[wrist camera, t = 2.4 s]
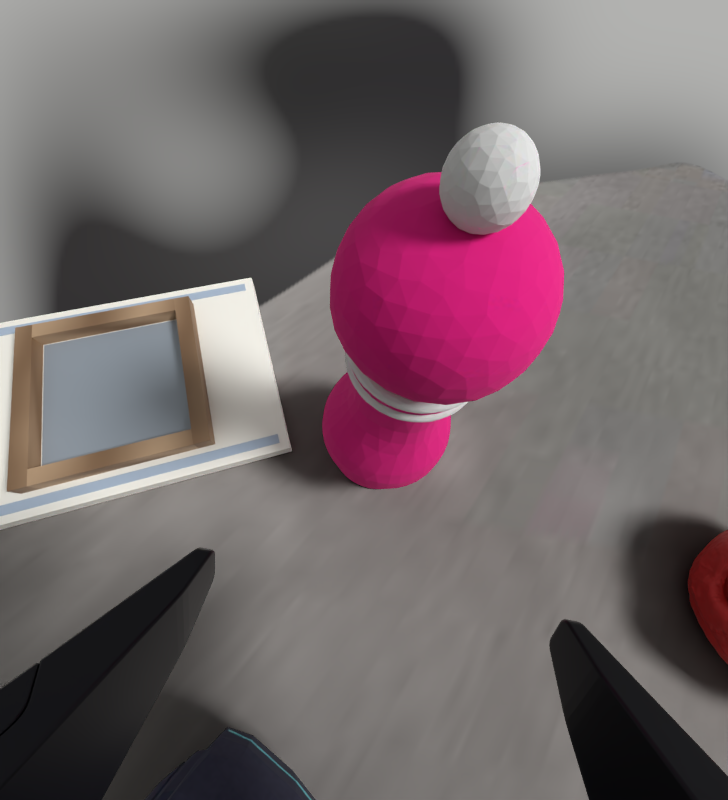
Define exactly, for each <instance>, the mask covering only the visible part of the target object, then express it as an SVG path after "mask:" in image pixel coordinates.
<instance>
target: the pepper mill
mask: <svg viewBox="0 0 728 800" xmlns="http://www.w3.org/2000/svg"><path fill="white" fill-rule="evenodd" d="M539 178H540V163H539V155H538V152H537V149H536V147H535V144H534V142H533V141H532V140H531V138H530V137H529V136H528V135H527V133H526V132H525V131H523V130H521V129H519V128H518V127H516V126H514V125H511V124H505V123H500V122H499V123H492V124H486V125H484V126H481V127H478V128H475V129H473V130H472V131H470V132H469V133H468V134H466V135H465V136H464V137H463V138H462V139H461V140H459V141H458V142H457V143H456V145H455V146H454V147H453V149H452V150H451V151H450V153H449V155H448V157H447V159H446V161H445V164H444V166H443V169H442V172H437V173H426V174H422V175H419V176H416V177H412V178H409V179H406V180H404V181H401V182H399V183H397V184H394V185H392V186H390V187H388V188H387V189H386V190H385V191H383V192H382V193H381V194H379V195H378V196H377V197H375V198H374V199H373V200H371V201H370V202H369V203H368V204H366V205H365V207H364V208H363V209H362V210H361V212H360V213H359V214H358V215H357V217H356V218H355V219H354V220H353V222H352V223H351V224H350V225H349V227H348V229H347V231H346V233H345V235H344V237H343V239H342V241H341V243H340V245H339V247H338V250H337V253H336V257H335V260H334V264H333V268H332V272H331V284H330V310H331V315H332V319H333V324H334V329H335V332H336V334H337V336H338V338H339V340H340V342H341V344H342V346H343V348H344V350H345V363H346V369H347V373H346V374H345V375H344V376H343V377H342V378H341V379H340V380H339V381H338V382H337V383H336V385H335V386H334V388H333V389H332V391H331V393H330V394H329V396H328V399H327V402H326V405H325V408H324V414H323V421H322V432H323V438H324V443H325V445H326V448H327V450H328V453H329V454H330V456H331V458H332V460H333V461H334V462H335V463H336V465H337V466H338V467H339V469H340V470H341V471H342V472H343V474H344V475H345V476H346V477H347V478H349V479H350V480H351V481H353V482H355V483H356V484H359V485H361V486H363V487H367V488H370V489H389V488H399V487H403V486H407V485H409V484H412V483H414V482H416V481H418V480H419V479H421V478H422V477H424V476H425V475H426V474H427V473H428V472H429V471H430V470H431V469H432V468H433V467H434V466H435V465H436V464H437V462H438V461H439V459H440V458H441V456H442V455H443V453H444V451H445V448H446V446H447V444H448V440H449V434H450V424H451V415H452V414H454V413H455V412H457V411H458V410H460V409H461V408H462V407H463V406H464V405H465V404H466V403H467V402H469V401H475V400H478V399H480V398H483V397H485V396H487V395H489V394H492V393H494V392H496V391H498V390H500V389H501V388H503V387H504V386H506V385H507V384H509V383H510V382H512V381H513V380H514V379H515V378H517V377H518V376H519V375H520V374H522V373H523V372H524V371H525V370H526V369H527V368H528V367H529V365H530V364H531V363H532V362H533V361H534V360H535V358H536V357H537V356H538V355H539V354H540V352H541V350H542V349H543V347H544V346H545V344H546V343H547V341H548V339H549V338H550V336H551V335H552V333H553V331H554V328H555V325H556V322H557V319H558V316H559V313H560V309H561V305H562V301H563V285H564V269H563V265H562V261H561V256H560V252H559V248H558V243H557V241H556V239H555V237H554V236H553V234H552V232H551V230H550V228H549V227H548V225H547V223H546V221H545V219H544V218H543V217H542V215H541V214H540V213H539V212H538V211H537V210H536V209H535V208H534V207H533V206H532V205H531V204H530V203H531V202H532V200H533V198H534V195H535V193H536V190H537V188H538V184H539Z"/></svg>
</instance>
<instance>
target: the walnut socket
mask: <svg viewBox="0 0 728 800" xmlns="http://www.w3.org/2000/svg"><path fill="white" fill-rule="evenodd" d="M175 319H176V320H177V327H178V335H179V342H180V349H181V357H182V364H183V372H184V379H185V387H186V394H187V402H188V409H189V417H190V424H191V429H189V430H185V431H181V432H177V433H173V434H169V435H165V436H161V437H157V438H153V439H149V440H145V441H140V442H136V443H132V444H128V445H124V446H120V447H116V448H112V449H108V450H104V451H100V452H96V453H92V454H88V455H84V456H79V457H75V458H71V459H67V460H63V461H59V462H55V463H51V464H47V465H43V466H41V439H42V388H43V345H46V344H51V343H56V342H62V341H67V340H72V339H77V338H82V337H88V336H93V335H98V334H103V333H108V332H113V331H119V330H124V329H129V328H134V327H139V326H144V325H150V324H155V323H160V322H165V321H170V320H175ZM214 444H215V439H214V432H213V426H212V419H211V413H210V407H209V400H208V394H207V387H206V381H205V374H204V368H203V362H202V355H201V349H200V342H199V336H198V330H197V323H196V317H195V310H194V304H193V303H192V301H191V299H190V298H189V296H185V297H180V298H174V299H169V300H164V301H158V302H153V303H147V304H142V305H136V306H131V307H125V308H120V309H114V310H109V311H104V312H98V313H93V314H87V315H82V316H76V317H71V318H65V319H60V320H55V321H49V322H44V323H38V324H33V325H27V326H22V327H16V328H15V340H14V359H13V379H12V398H11V417H10V436H9V455H8V475H7V492H13V493H19V494H23V493H27V492H30V491H34V490H38V489H42V488H46V487H50V486H54V485H58V484H62V483H66V482H70V481H73V480H77V479H81V478H85V477H89V476H93V475H97V474H101V473H105V472H109V471H112V470H116V469H120V468H124V467H128V466H132V465H136V464H140V463H144V462H148V461H152V460H155V459H159V458H163V457H167V456H171V455H175V454H179V453H183V452H187V451H191V450H194V449H198V448H202V447H206V446H210V445H214Z"/></svg>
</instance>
